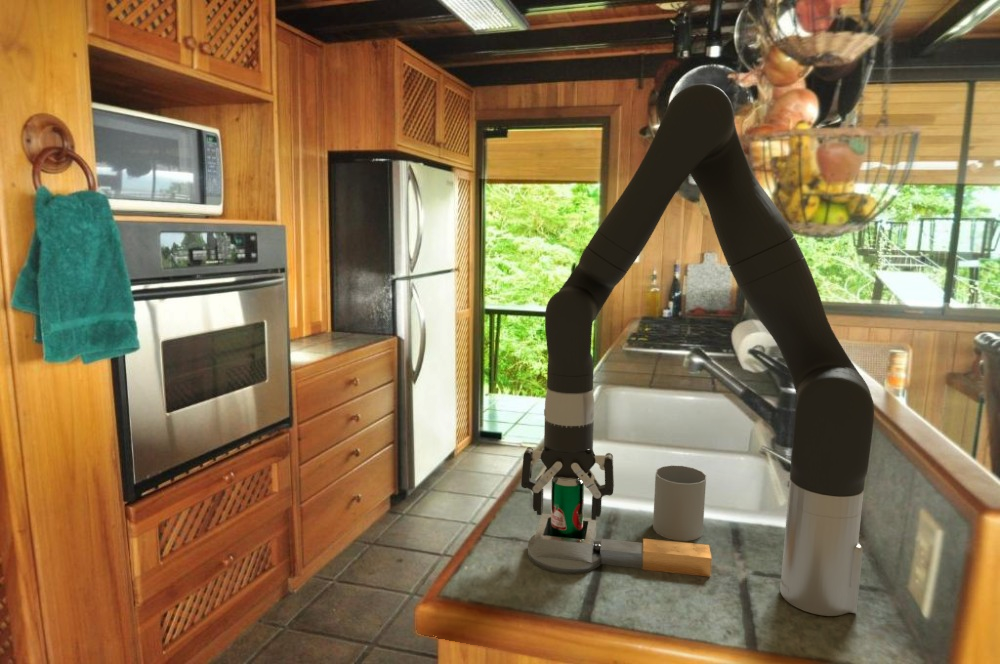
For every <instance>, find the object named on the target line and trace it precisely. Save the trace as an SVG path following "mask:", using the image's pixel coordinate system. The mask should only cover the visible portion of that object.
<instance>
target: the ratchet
mask: <svg viewBox="0 0 1000 664" xmlns="http://www.w3.org/2000/svg"><path fill="white" fill-rule="evenodd" d="M537 525H538V526H537V528H536V532H535V534H534V535H532V536H531V537H530V539H529V540H528V543H527V556H528V559H529V560H530V561H531V562H532V563H533V565H535V566H537V567H538V568H540V569H542V570H545V571H547V572H550V573H551V572H552V573H554V574H555V573H556V574H561V575H562V574H563V575H578V574H585V573H588V572H591V571H594V570H595V569H598V567H600V566H601V565H607V566H617V567H626V568H633V569H634V568H636V569H642V570H644V571H654V572H662V573H663V572H664V573H673V574H681V575H691V576H699V577H701V576H702V577H711V573H712V561H713V560H712V559H713V558H712V553H711V548H710V544H702V543H701V544H700V543H693V542H685V541H684V542H683V541H675V540H673V541H672V540H663V539H662V540H661V539H651V538H650V539H649V538H642V542H637V541H628V540H627V541H626V540H618V539H608V538H601V540H600V539H599V538H598V537H596V536H597V519H596V520H591V517H585V516H583V539H574V538H564V537H554V536H551V513H543V512H542V515H540V519H539V522H538V524H537Z"/></svg>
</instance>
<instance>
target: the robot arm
mask: <svg viewBox="0 0 1000 664" xmlns="http://www.w3.org/2000/svg"><path fill="white" fill-rule="evenodd" d="M649 145H650V146H649V148H648V149H647V152H646V153H645V155H644V157H643V159H642V161H641V163H640V164H639V166H638V168H637V169H636V171H635V173H634V175H633V176H632V178H631V180H630V181H629V183H627V186H626V188H624V191H622V194H620V196H619V198H618V199H617V201H616V203H615V204H613V207H612V208H611V209H610V211H609V212H608V214H607V215H606V216H605V218H604V220H603V221H602V223H601V224H600V225H599V227H598V228H597V230H596V232H594V234H593V236H592V237H591V239H590V240H589V242H588V243H587V245H586V246H585V248H584V249H583V251H582V253H581V255H580V257H579V260H578V261H579V262H578V263H577V266H575V268H574V269H573V271H572V273H570V275H569V277H568V278H567V279H566V281H565V282H564V283H563V285H562V286H561V288H560V289H559V290H558V291H557V292H556V293H554V294H553V295H552V296H551V297H550V298H549V300H548V302H547V304H546V308H545V313H544V315H545V317H544V327H545V328H544V330H545V340H546V341H545V342H546V348H547V349H546V350H547V357H548V359H547V371H546V372H547V373H546V374H547V375H546V377H547V378H546V394H545V400H544V409H543V416H544V427H543V428H544V430H543V431H544V432H543V434H544V437H543V438H544V439H543V440H544V441H543V450H537V449H536V450H535V449H534V448H532V447H531V446H529V447H526V449H525V450H524V453H523V457H522V458H523V459H522V470H521V482H520V483H521V484H520V485H521V487H522V488H523V489H529V490H531V491H532V509H533V511H534V512H536V515H537V516H542V513H543V512H544V487H546V485H547V484H548V483H550V482H551V481H552V478H553V477H554V478H556V477H555V476H557V477H559V476H561V477H575V478H579V480H581V481H582V482H583V484H584V488H587V490H589V492H590V493H591V494H592V497H591V515H590V518H591V520H596V521H597V518H600V516H601V513H602V500H603V499H602V498H603V497H604V496H610V497H611V496H612V495H613V494H614V488H615V482H614V481H615V480H614V478H615V476H614V475H615V474H614V456H613V454H612V452H607V453H605V455H600V454H599V455H598V454H597V455H596V454H595V452H594V425H595V423H594V422H595V420H594V418H595V396H594V373H595V371H594V370H595V369H594V366H595V364H594V358H593V355H592V337H593V335H592V333H593V332H592V331H593V324H594V323H593V322H594V321H595V319H596V318H597V317H598V315H599V313H600V311H601V310H602V308H603V307H604V306H605V304H606V302H607V300H608V299H609V296H610V295H611V293H612V292H613V291H614V288H615V287H616V286H617V285H618V284H619V283H620V282H621V281H622V280H623V278H624V277H625V276H626V274H627V273H628V272H629V270H630V268H631V267H632V266H633V265H634V263H635V262H636V261H637V258H638V257H639V256H640V254H641V253H642V251H643V250H644V248H645V247H646V245H647V243H648V242H649V240H650V238H651V237H652V235H653V233H654V231H655V230H656V228H657V226H658V224H659V222H660V220H661V219H662V217H663V214H664V213H665V211H666V209H667V208H668V206H669V204H670V203H671V201H672V199H673V198H674V196H675V195H676V194H677V192H678V190H679V188H680V187H681V186H682V185H683V183H684V182H685V180H686V179H687V178H688V177H689V175H690V176H691V178H692V179H693V181H694V183H695V184H696V187H698V189H699V191H700V194H701V195H702V198H703V200H704V201H705V203H706V206H707V208H708V209H707V210H708V213H709V215H710V219H711V222H712V226H713V229H714V231H715V235H716V238H717V241H718V243H719V246H720V249H721V251H722V254H723V257H724V258H725V261H726V263H727V266H728V267H729V268H728V269H730V272H731V274H732V276H733V278H734V280H735V283H736V284H737V286H738V288H739V290H740V292H741V294H742V295H743V297H744V299H745V300H746V302H747V304H748V305H749V307H750V308H751V310H752V311H753V312H754V314H755V315H756V317H757V318H758V320H759V321H760V323H761V324H762V325H763V326H764V328H765V329H766V330H767V332H768V333H769V334H770V336H771V337H772V339H773V340H774V342H775V343H776V345H777V347H778V348H779V351H780V353H781V355H782V358H783V359H784V362H785V365H786V368H787V370H788V373H789V375H790V377H791V380H792V384H793V386H794V390H795V394H796V401H795V411H794V422H793V423H794V424H793V433H792V434H793V437H792V447H791V456H790V473H789V484H788V496H787V497H788V498H787V509H786V517H785V518H786V519H785V520H786V521H785V528H784V529H785V531H784V542H783V553H782V555H783V556H782V564H781V574H780V585H779V586H780V587H779V588H780V589H779V590H780V594H781V596H782V598H783V599H784V600H785V601H786V602H787V603H789V604H790V605H791V606H793V607H795V608H797V609H799V610H802V611H804V612H806V613H810V614H814V615H819V616H826V617H834V616H835V617H836V616H843V615H844V614H849V613H850V614H851V613H852V614H857V609H858V608H857V607H858V599H859V593H860V583H861V582H860V581H861V572H862V571H861V570H862V561H863V554H864V553H863V552H864V548H863V546H862V545H861V544H860V542H859V537H860V529H861V520H862V517H861V516H862V509H863V502H864V501H863V499H864V492H865V491H864V490H865V482H866V477H867V474H868V471H869V462H870V456H871V455H870V454H871V447H872V439H873V429H874V421H875V420H874V419H875V404H874V400H873V398H872V394H871V391H870V388H869V386H868V383H867V382H866V381H865V379H864V377H862V375H861V373H860V372H859V370H858V369H857V368H856V366H855V365H854V363H853V362H852V360H851V359H850V357H849V355H848V354H847V352H846V351H845V349H844V347H843V346H842V345H841V342H840V341H839V340H838V338H837V336H836V334H835V332H834V330H833V328H832V326H831V324H830V322H829V319H828V317H827V314H826V311H825V309H824V304H823V302H822V299H821V296H820V293H819V290H818V287H817V285H816V282H815V280H814V277H813V275H812V272H811V270H810V266H809V265H808V262H807V260H806V257H804V253H803V251H802V249H801V247H800V246H799V243H798V242H797V239H796V237H795V236H794V234H793V231H792V230H791V228H790V226H789V224H788V223H787V222H786V220H785V217H784V216H783V215H782V213H781V211H780V210H779V209H778V207H777V206H776V204H775V202H773V199H772V198H771V197H770V196H769V195H768V193H767V192H766V190H765V189H764V187H763V186H761V184H760V183H759V181H758V179H757V178H756V176H755V174H754V172H753V171H752V170H753V169H752V168H751V166H750V164H749V161H748V158H747V157H746V153H745V151H744V149H743V146H742V143H741V139H740V137H739V133H738V131H737V128H736V123H735V110H734V106H733V104H732V101H731V100H730V98H729V96H728V95H727V94H726V93H725V91H724V90H722V89H721V88H720V87H717V86H715V85H714V84H710V83H697V84H692V85H690V86H687V87H685V88H684V89H682V90H680V91H678V92H677V94H676V95H675V96H673V98H672V99H671V100H670V102H669V104H668V105H667V107H666V109H665V112H664V114H663V117H662V119H661V121H660V123H659V126H658V128H657V131H656V132H655V134H654V137H653V139H652V141H651V144H649ZM538 460H541V462H542V463H543V465H544V466H545V469H544V470H543V471H542V473H541V474H540V476H539V477H538V478H537V479H535V478H532V476H533V475H532V474H533V465H536V464H537V461H538ZM595 464H597V465H598V466H599V469H600V470H601V471H604V484H600V483H599V481H598V480H597V478H596V477H595V474H594V473H593V471H592V470H591V469H592V468H593V467H594V466H595Z"/></svg>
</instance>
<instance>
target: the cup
mask: <svg viewBox="0 0 1000 664" xmlns="http://www.w3.org/2000/svg"><path fill="white" fill-rule="evenodd" d="M654 478H655V481H654V497H653V498H654V500H653V502H654V503H653V515H652V516H653V521H652V529H653V530H654V532H656V534H658V535H660V536H661V537H663V538H664V539H665V538H667V539H670V540H673V541H678V542H683V541H684V542H689V541H694V540H698V539H700V538H701V537H702V536H703V534H704V533H703V532H704V516H705V505H706V504H705V503H706V502H705V501H706V488H707V487H706V485H707V474H705V473H704V472H703V471H702V470H699V469H697V468H694V467H690V466H684V465H674V464H671V465H667V466H666V465H665V466H661V467H659V468H657V469H656V471H655V477H654Z"/></svg>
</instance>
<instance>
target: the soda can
mask: <svg viewBox="0 0 1000 664" xmlns="http://www.w3.org/2000/svg"><path fill="white" fill-rule="evenodd" d="M555 477H556V478H554V477H553V478H552V479H551V489H550V490H551V492H550V495H551V496H550V499H551V501H550V502H551V503H550V514H551V536H554V537H564V538H574V539H583V517H584V501H585V499H584V498H585V497H584V496H585V485H584V484H583V482H582V481H581V480H579V478H575V477H561V476H559V477H557V476H555Z"/></svg>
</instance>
